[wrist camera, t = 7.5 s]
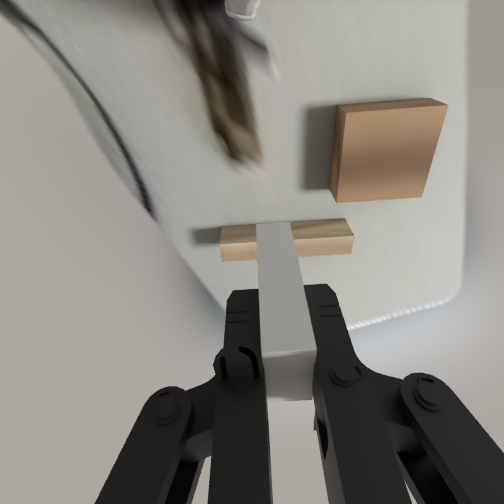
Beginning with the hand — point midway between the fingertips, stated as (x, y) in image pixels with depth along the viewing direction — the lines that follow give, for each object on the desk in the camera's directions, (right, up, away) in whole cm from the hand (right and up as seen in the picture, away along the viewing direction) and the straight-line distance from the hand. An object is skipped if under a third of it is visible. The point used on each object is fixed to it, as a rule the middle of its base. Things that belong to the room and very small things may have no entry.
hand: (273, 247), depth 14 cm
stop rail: (+2, +2, +16) cm, 16 cm away
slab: (+9, +9, +11) cm, 17 cm away
